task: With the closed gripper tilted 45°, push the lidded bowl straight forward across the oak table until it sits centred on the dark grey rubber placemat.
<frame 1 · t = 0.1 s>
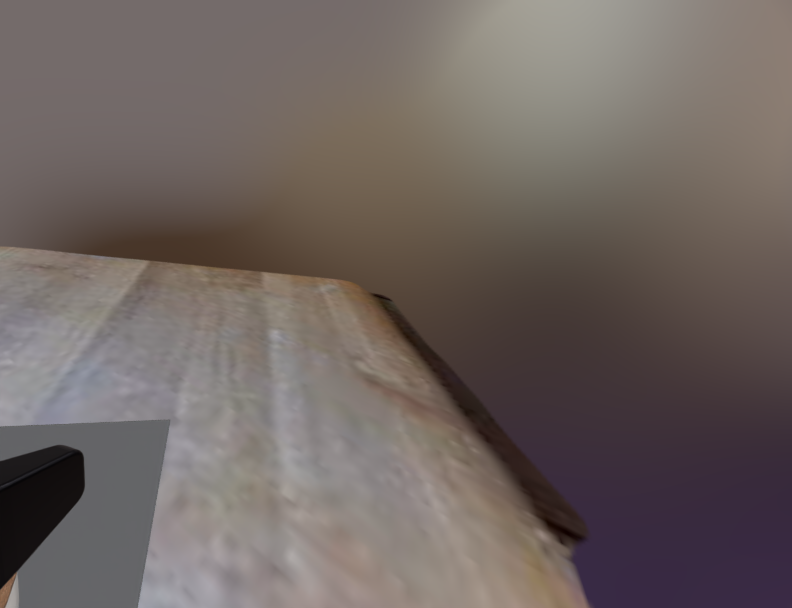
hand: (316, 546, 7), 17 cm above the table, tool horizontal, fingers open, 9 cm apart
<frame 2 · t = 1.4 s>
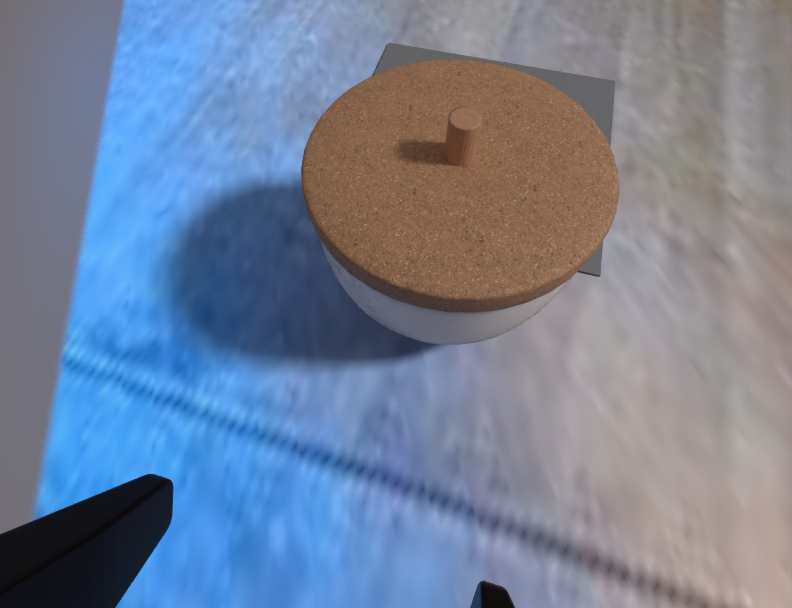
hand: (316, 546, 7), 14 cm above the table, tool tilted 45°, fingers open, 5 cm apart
placemat: (476, 140, 31), on the table
lidded bowl: (439, 276, 26), on the table, touching placemat
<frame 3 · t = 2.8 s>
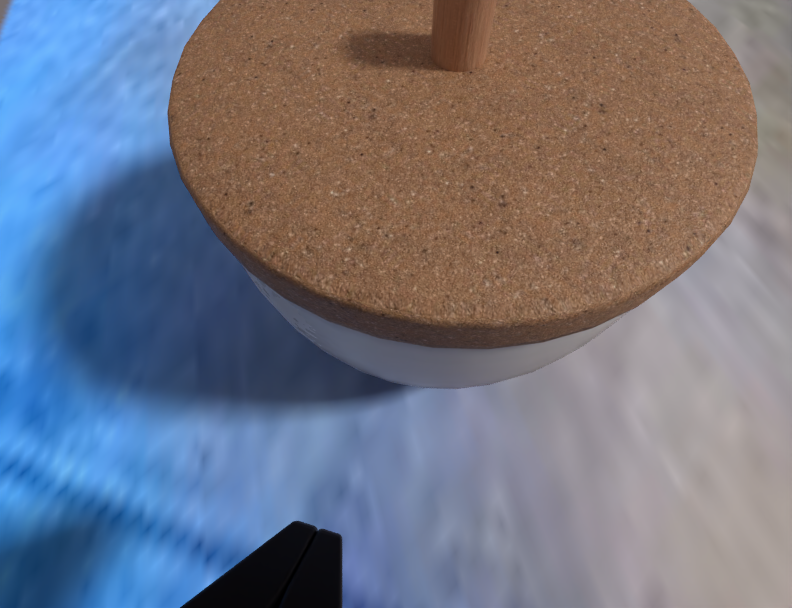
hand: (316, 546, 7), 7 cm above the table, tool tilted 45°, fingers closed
lidded bowl: (430, 276, 18), on the table, touching placemat
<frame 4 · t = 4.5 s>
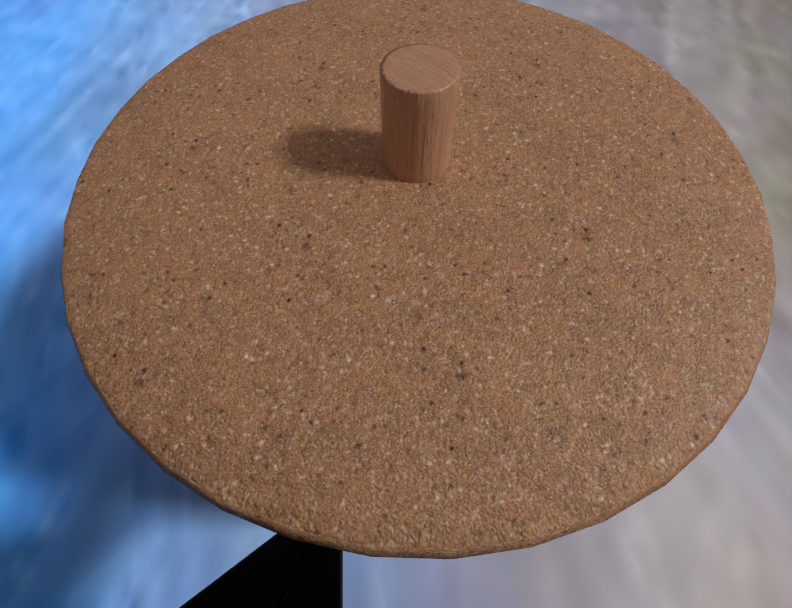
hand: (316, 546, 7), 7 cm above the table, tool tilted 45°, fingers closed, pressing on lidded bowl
lidded bowl: (405, 354, 16), on the table, touching gripper
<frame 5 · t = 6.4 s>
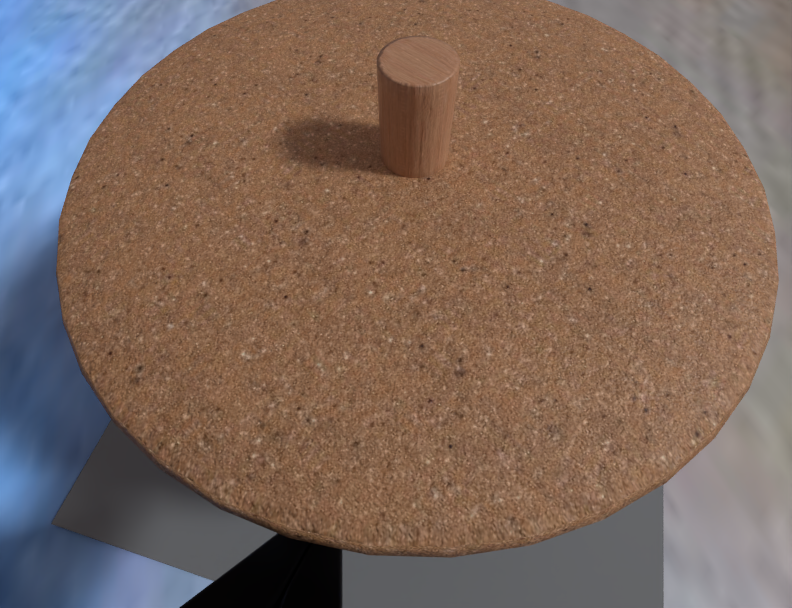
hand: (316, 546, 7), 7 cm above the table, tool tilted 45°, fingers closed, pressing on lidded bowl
placemat: (410, 337, 16), on the table
lidded bowl: (405, 350, 16), resting on placemat, touching gripper
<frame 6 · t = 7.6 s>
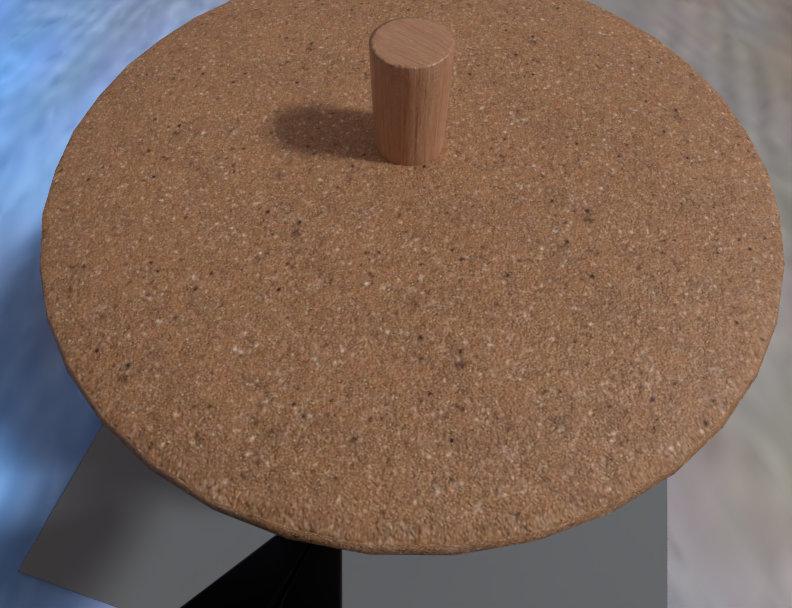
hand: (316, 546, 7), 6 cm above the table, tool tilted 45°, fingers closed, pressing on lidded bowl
placemat: (401, 365, 16), on the table
lidded bowl: (403, 345, 16), resting on placemat, touching gripper
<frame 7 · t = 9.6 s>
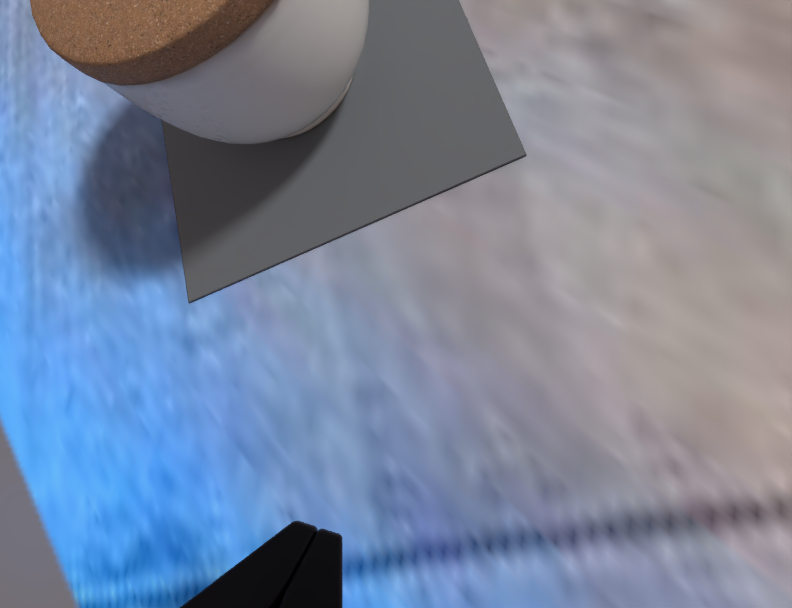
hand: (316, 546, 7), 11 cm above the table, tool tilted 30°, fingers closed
placemat: (300, 89, 24), on the table
lidded bowl: (296, 80, 24), resting on placemat
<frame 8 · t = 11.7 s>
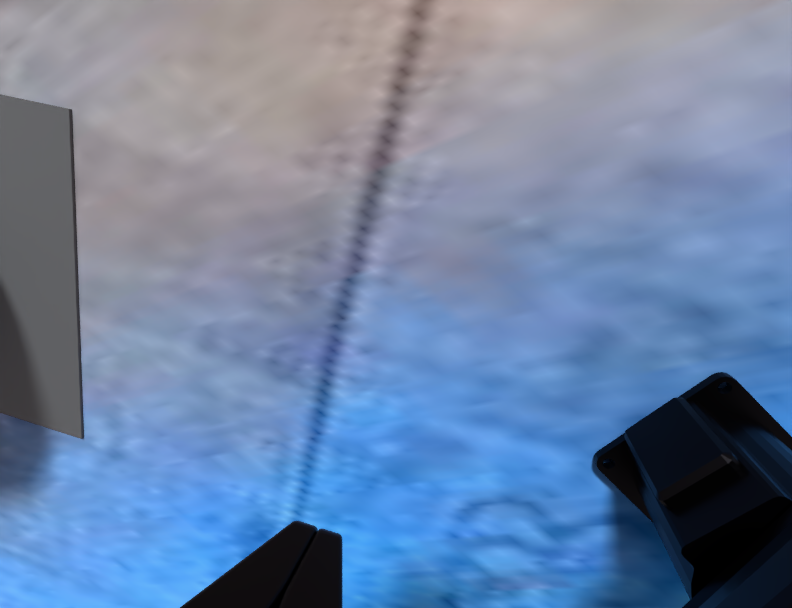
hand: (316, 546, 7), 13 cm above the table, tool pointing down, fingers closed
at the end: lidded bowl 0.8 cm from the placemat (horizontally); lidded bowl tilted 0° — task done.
